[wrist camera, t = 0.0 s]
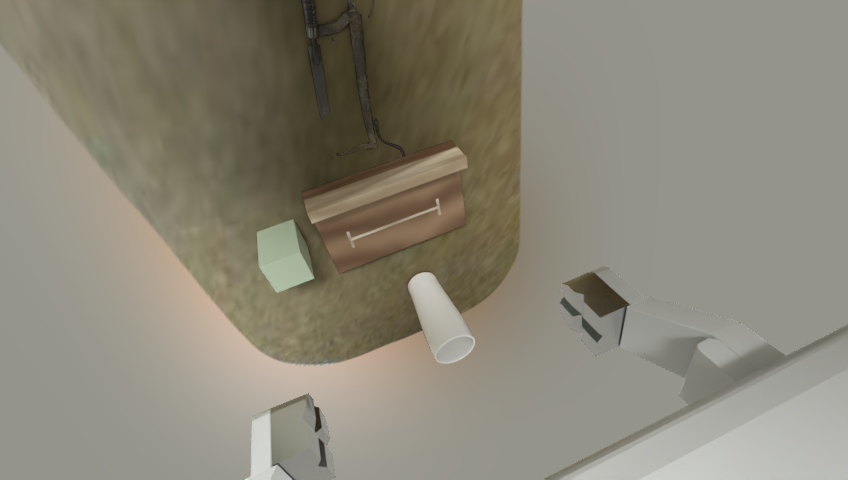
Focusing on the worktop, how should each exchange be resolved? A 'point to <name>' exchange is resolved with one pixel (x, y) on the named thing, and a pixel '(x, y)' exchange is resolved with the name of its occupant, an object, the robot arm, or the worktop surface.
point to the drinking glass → (440, 319)
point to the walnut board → (389, 205)
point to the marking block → (284, 256)
